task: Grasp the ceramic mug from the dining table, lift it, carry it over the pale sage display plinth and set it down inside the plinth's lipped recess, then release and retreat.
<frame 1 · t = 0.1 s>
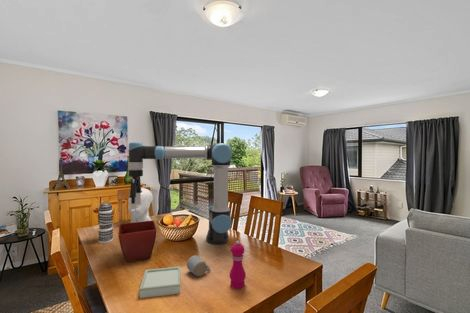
hand: (135, 206, 137), 28 cm above the table, fingers open, 13 cm apart
display plinth: (161, 285, 106), on the table
plant pot: (137, 256, 136), on the table
head sculpture: (139, 225, 194), on the table
ceramic mug: (199, 272, 118), on the table
decorative candle: (105, 240, 159), on the table
pepper mill: (237, 285, 107), on the table
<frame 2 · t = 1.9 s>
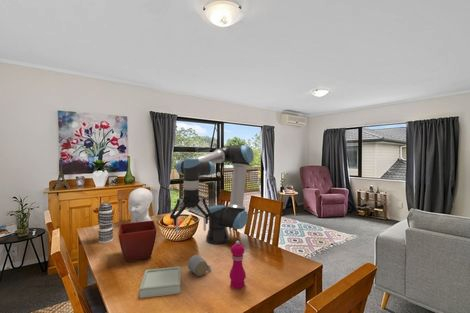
hand: (191, 231, 119), 20 cm above the table, fingers open, 13 cm apart
nothing on the table moved.
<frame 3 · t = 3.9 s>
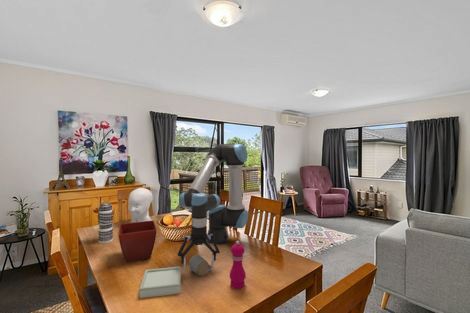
hand: (198, 268, 118), 2 cm above the table, fingers open, 13 cm apart
ceramic mug: (201, 272, 119), on the table, touching gripper
everything else where it was.
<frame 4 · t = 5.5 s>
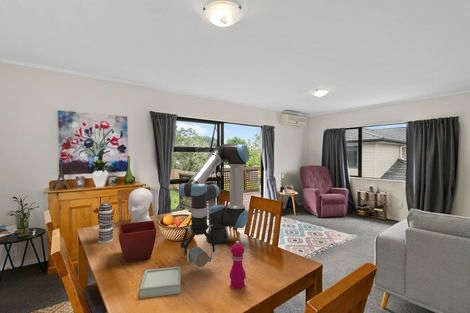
hand: (199, 259, 118), 6 cm above the table, fingers closed on ceramic mug, 11 cm apart
ceramic mug: (201, 263, 119), point 4 cm above the table, touching gripper
everything else where it was.
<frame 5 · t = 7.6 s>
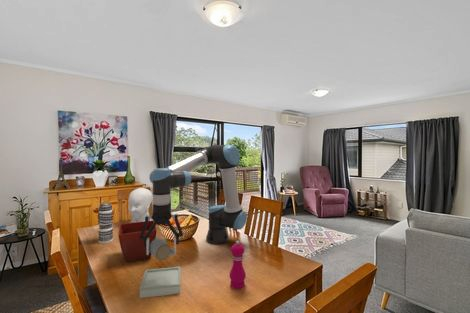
hand: (161, 252, 106), 15 cm above the table, fingers closed on ceramic mug, 11 cm apart
ceramic mug: (163, 257, 107), point 12 cm above the table, touching gripper
everything else where it was.
when the fingers open (5 cm above the table, at t = 9.7 s): ceramic mug stays where it is, resting on display plinth.
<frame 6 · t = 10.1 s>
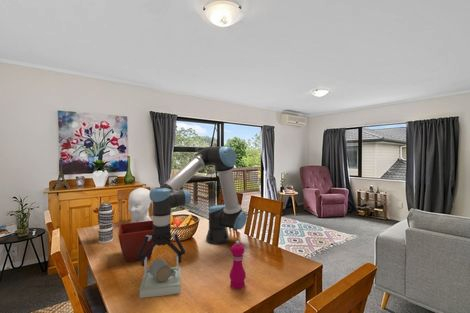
hand: (161, 271, 106), 6 cm above the table, fingers open, 13 cm apart
ceramic mug: (163, 278, 107), point 3 cm above the table, touching display plinth
everything else where it was.
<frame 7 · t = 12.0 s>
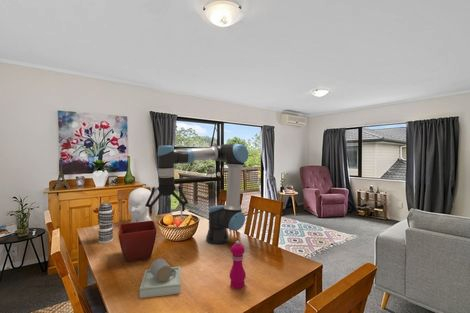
hand: (167, 219, 119), 26 cm above the table, fingers open, 13 cm apart
nothing on the table moved.
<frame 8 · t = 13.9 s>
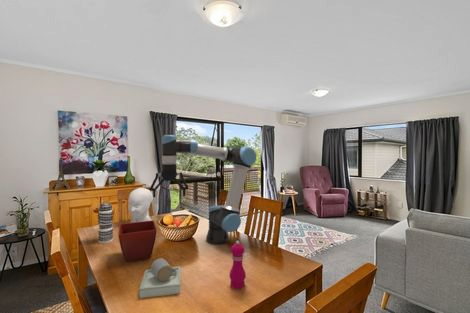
hand: (169, 202, 130), 32 cm above the table, fingers open, 13 cm apart
nothing on the table moved.
at the end: ceramic mug inside the target area on the display plinth (1.4 cm from its centre), point 2.8 cm above the display plinth's base; ceramic mug tilted 1°; ceramic mug touching display plinth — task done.
